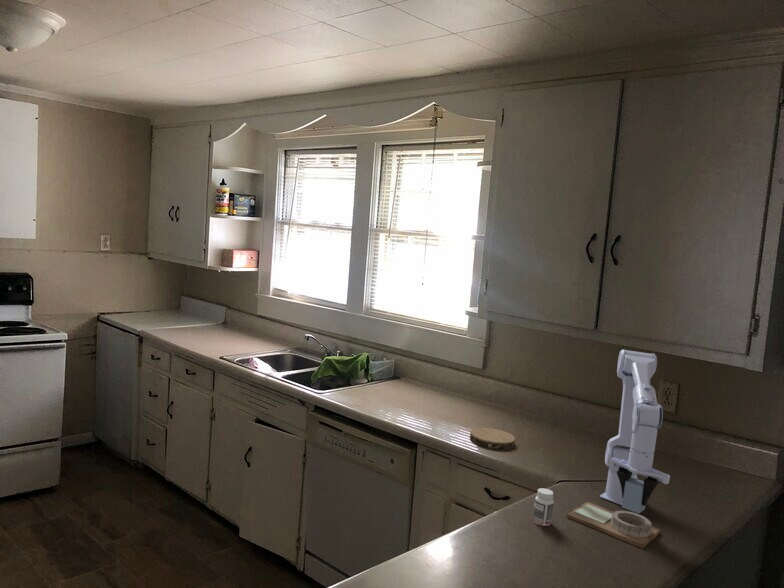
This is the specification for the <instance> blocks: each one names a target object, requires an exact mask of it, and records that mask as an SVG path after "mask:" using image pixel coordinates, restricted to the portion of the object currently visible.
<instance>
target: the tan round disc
mask: <svg viewBox="0 0 784 588" xmlns="http://www.w3.org/2000/svg"><path fill="white" fill-rule="evenodd" d="M469 440H470V442H471V443H472V444H474V445H476V446H478V447H481V448H484V449H488V450H494V451H509V450H512V449H514V448H515V440H516V437H515V436H514V435H513V434H511V433H510V432H507V431H504V430H501V429H497V428H496V429H495V428H491V427H490V428H489V427H477V428H473V429H471V430H470V436H469ZM508 449H509V450H508Z"/></svg>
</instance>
